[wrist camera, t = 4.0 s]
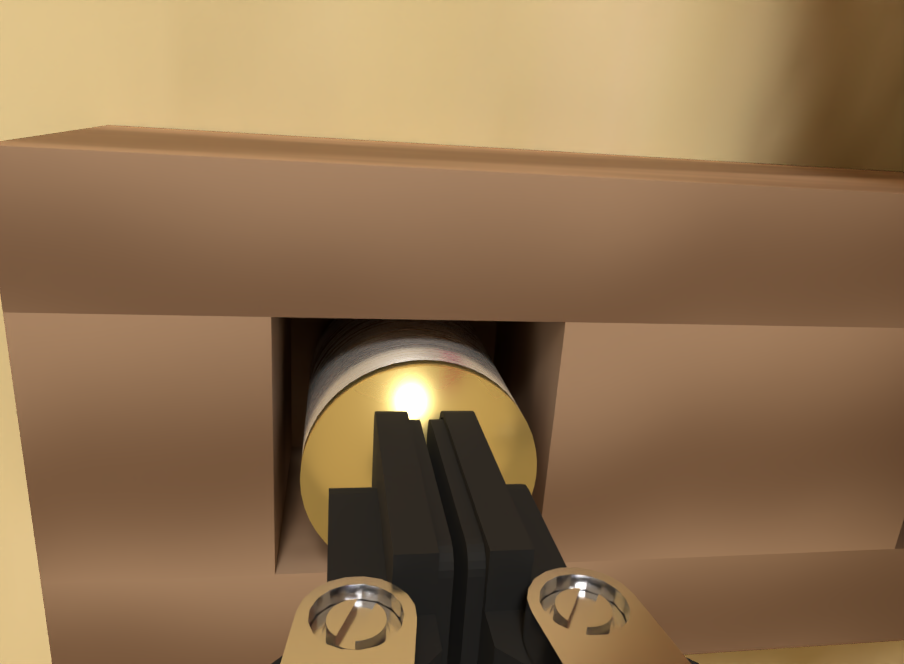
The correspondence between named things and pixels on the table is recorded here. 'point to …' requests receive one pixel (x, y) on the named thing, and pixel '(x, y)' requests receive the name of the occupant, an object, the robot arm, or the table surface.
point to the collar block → (508, 345)
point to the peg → (400, 400)
